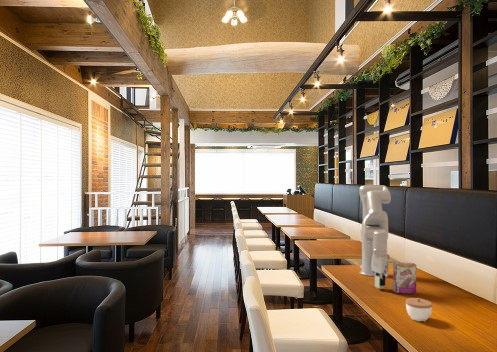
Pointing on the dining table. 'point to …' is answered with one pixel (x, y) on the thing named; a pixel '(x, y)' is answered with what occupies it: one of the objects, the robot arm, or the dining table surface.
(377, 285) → the sage block
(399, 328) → the dining table surface
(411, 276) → the candy bar box
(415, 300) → the lidded jar
